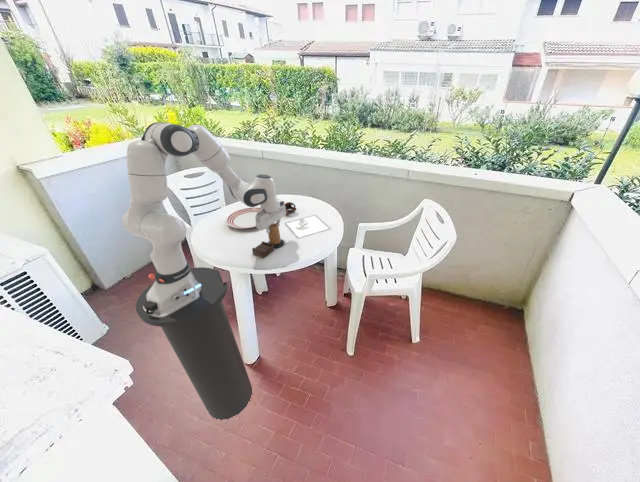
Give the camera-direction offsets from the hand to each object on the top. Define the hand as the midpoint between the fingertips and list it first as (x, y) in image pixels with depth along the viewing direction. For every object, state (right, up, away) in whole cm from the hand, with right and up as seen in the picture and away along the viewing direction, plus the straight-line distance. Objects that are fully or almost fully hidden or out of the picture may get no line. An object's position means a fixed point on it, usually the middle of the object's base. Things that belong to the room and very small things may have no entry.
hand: (273, 229), depth 152 cm
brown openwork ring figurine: (-1, +14, +38) cm, 40 cm away
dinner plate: (-23, +7, +27) cm, 36 cm away
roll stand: (-5, -12, -2) cm, 13 cm away
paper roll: (0, -2, +1) cm, 3 cm away
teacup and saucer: (+15, +4, +23) cm, 27 cm away
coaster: (0, -8, +5) cm, 9 cm away
